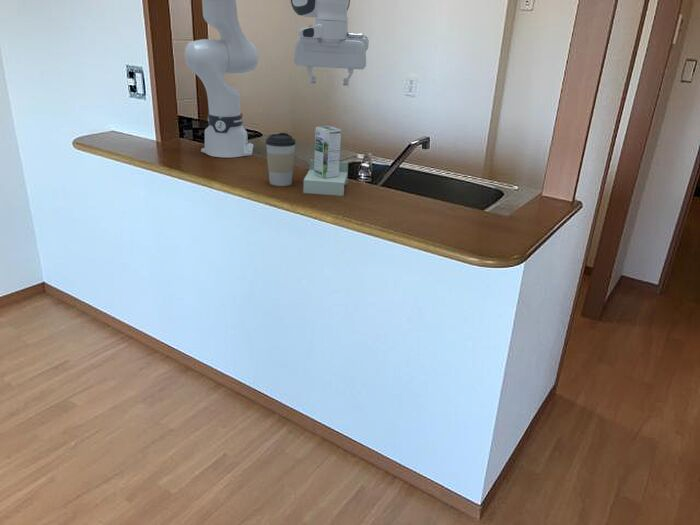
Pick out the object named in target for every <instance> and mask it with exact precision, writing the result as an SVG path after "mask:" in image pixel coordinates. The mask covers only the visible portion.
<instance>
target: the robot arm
mask: <svg viewBox="0 0 700 525" xmlns="http://www.w3.org/2000/svg"><path fill="white" fill-rule="evenodd" d="M350 4H351V0H290V5H291V7H292V9H293V11H294V12H295V14H297V15H298V16H302V17H305V18H315V24H314V25H312V24H311V25H309V26H306V27H302V28H301V29H299V31H298V36H299V39H297V41H296V44H295V48H294V55H293V56H294V57H293V58H294V59H293V62H294V64H295V65H296V66H301V67H306V72H307V74H308V76H309V77H310V78H309V83H310V84H317V76H314V74H313V73H312V71H313V67H316V68H331V69H347V73H348V75H347V77H346V78H345V77H344V78H343V82H342V84H343V86H346V87H349V85H350V79H351V78H352V76H353V74H354V70H361V71H362V70H364V69H365V68H366V66H367V51H368V48H369V42H370V41H369V39H368V36H366V35H365V34H363V33H354V32H348V27H349V26H348V25H349V18H348V10H349V7H350ZM201 6H202V16H203V19H204V21H205V22H206V24H208V25H209V26H211V27H212V28H214V29H215V30H217V31H218V34H219V36H220V39H215V38H214V39H213V38H212V39H209V38H206V39H205V38H202V39H197V40H196V39H195V40H193V41H189V42H188V43H187V45H186V46H185V49H184V53H183V55H184V56H183V58H184V62H185V63H186V66H187V68H188V69H189V70H190V71H192V72H193V73H194V74H195V75H196V76H197V77H198V78H199V80H201V82H202V84H203V86H204V88H205V91H206V96H207V104H208V105H207V106H208V113H207V124H208V126H207V127H206V128H205V129H204V147H202V148H201V149H200V152H201V153H204V154H206V155H208V156H210V157H214V158H215V157H216V158H226V159H227V158H238V157H244V156H245V157H246V156H252V155H253V151H254V144H253V143H250V142H249V141H248V132H247V129H246V128H245V127H244V125H243V123H244V122H243V116H244V115H243V112H241V94H240V92H239V90H238V89H237V88H236V87H235V86H233V85H232V84H230V83H227V82H226V79H225V76H224V74H243V73H249V72H251V71H254V70H255V69H256V67H257V65H258V63H259V58H260V57H259V52H258V49H257V48H256V46H255V44H254V43H253V42H252V41H250V40H249V39H248V38H247V36H246V35H245V33H244V31H243V30H242V28H241V25H240V23H239V18H238V9H237V0H201Z"/></svg>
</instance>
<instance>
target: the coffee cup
mask: <svg viewBox="0 0 700 525" xmlns="http://www.w3.org/2000/svg"><path fill="white" fill-rule="evenodd" d="M265 144H266V160H267V170H268V176H269V178H268V180H269V184H270V185H272V186H277V187H287V186H291V185H292V184H293V173H294V172H293V171H294V165H295V157H296V155H295V153H296V152H295V149H296V148H295V146H296V139H294V138H293V137H292V135H290V134H289V133H287V132H279V133H274V134H270V135H269V136H268V137H267V138H266V139H265Z"/></svg>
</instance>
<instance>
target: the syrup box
mask: <svg viewBox="0 0 700 525" xmlns="http://www.w3.org/2000/svg"><path fill="white" fill-rule="evenodd" d="M314 132H315V133H314V134H315V135H314V159H313V160H314V175H318V176H320V177H322V178H331V177H336V176H339V161H340V156H341V135H342V129H341V128H337V127H335V126H331V125H320V126H316V127H315V131H314Z"/></svg>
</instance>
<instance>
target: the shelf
mask: <svg viewBox="0 0 700 525" xmlns="http://www.w3.org/2000/svg"><path fill="white" fill-rule="evenodd" d="M348 172H349V161H340V160H339V176H336V177H331V178H322V177H320V176H318V175H314V159H309V170H308V171H307V173H306V175H305V176H304V177H303V178H304V179H303V188H302V189H303V190H302V191H303V194H310V195H311V194H312V195H314V194H315V195H324V196H325V195H327V196H339V197H344V194H345V186H347V185H348Z"/></svg>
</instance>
